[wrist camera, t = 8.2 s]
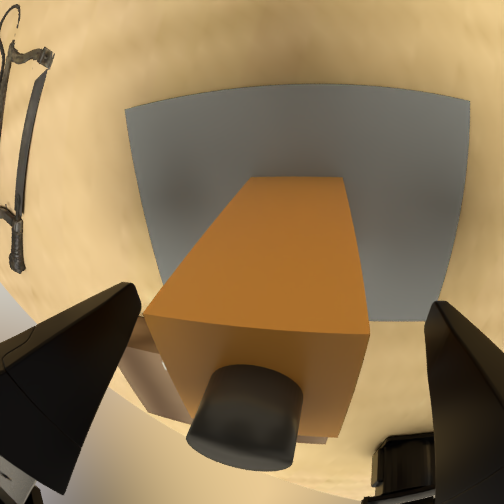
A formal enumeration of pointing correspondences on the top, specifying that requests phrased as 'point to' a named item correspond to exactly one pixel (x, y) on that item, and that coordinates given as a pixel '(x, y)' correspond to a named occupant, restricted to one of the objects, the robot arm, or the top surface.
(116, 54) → the top surface
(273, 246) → the plug
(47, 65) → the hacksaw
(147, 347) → the socket block
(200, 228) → the mat
